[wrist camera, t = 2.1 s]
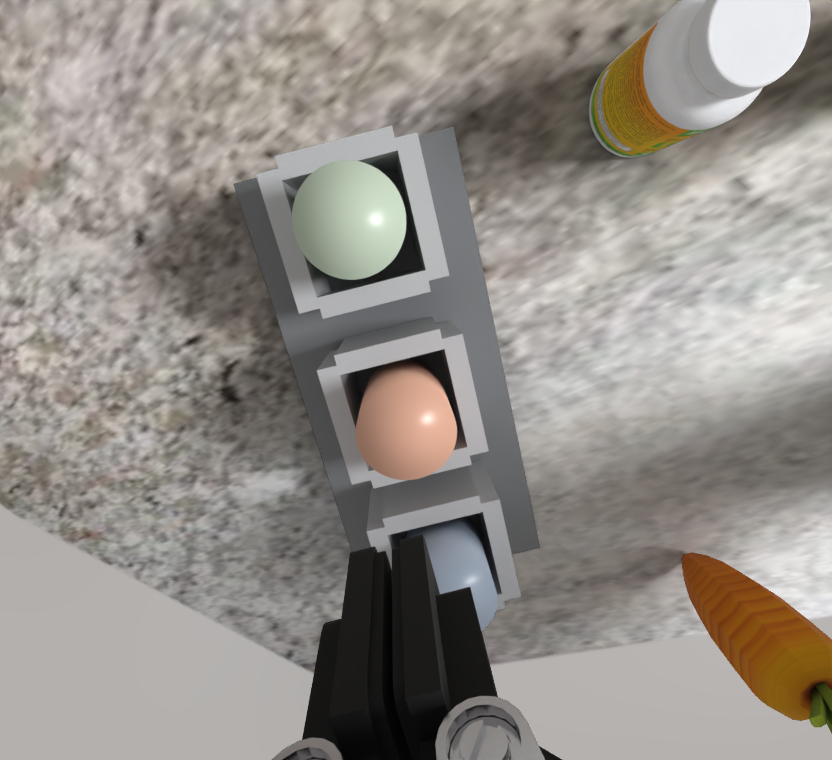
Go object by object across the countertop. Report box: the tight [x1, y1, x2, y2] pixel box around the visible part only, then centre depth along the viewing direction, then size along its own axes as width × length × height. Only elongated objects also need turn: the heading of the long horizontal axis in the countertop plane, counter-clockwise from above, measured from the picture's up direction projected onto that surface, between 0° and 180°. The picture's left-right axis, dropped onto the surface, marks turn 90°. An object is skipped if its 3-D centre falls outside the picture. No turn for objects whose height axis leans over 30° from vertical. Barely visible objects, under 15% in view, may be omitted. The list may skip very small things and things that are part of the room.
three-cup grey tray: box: [234, 126, 540, 611], centre depth 27 cm, size 12×26×7 cm, turn 14°
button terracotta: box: [356, 360, 457, 480], centre depth 23 cm, size 4×4×5 cm
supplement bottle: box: [589, 0, 810, 158], centre depth 22 cm, size 5×5×10 cm
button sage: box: [292, 160, 406, 280], centre depth 21 cm, size 4×4×5 cm
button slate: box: [405, 516, 498, 631], centre depth 25 cm, size 4×4×5 cm
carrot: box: [681, 553, 832, 733], centre depth 27 cm, size 5×5×15 cm
